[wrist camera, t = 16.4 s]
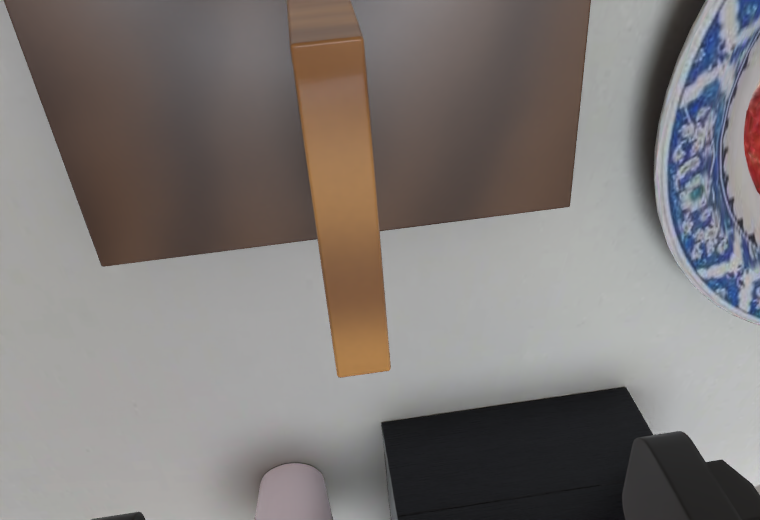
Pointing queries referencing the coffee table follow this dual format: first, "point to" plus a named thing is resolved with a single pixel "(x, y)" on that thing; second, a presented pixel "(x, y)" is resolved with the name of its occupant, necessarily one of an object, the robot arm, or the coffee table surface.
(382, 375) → the coffee table surface
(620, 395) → the toaster
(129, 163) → the cutting board
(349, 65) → the toast
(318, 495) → the smoothie
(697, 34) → the ceramic plate
